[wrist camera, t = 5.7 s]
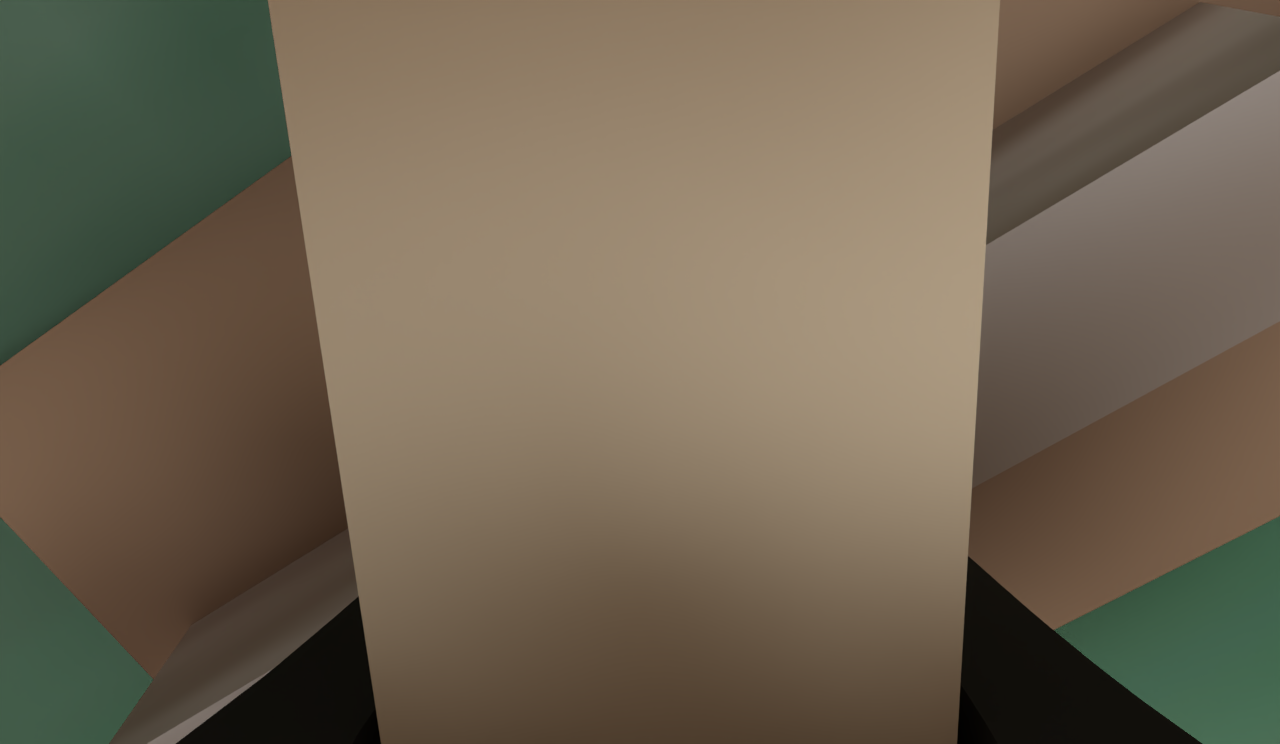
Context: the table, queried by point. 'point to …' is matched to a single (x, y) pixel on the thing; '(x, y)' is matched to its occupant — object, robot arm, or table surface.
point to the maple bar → (650, 357)
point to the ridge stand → (1007, 379)
